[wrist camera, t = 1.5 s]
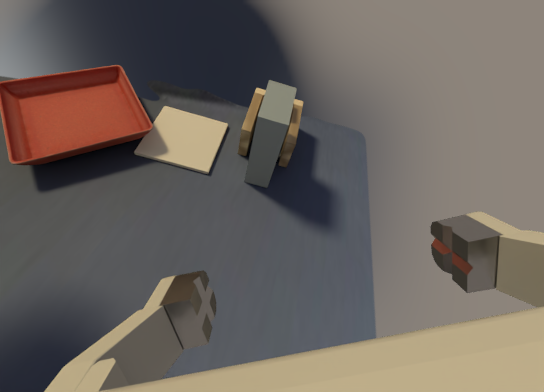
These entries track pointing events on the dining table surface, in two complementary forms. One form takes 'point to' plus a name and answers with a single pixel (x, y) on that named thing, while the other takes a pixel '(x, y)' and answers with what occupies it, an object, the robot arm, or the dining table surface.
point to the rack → (251, 124)
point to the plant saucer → (69, 114)
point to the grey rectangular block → (269, 132)
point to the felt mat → (183, 140)
